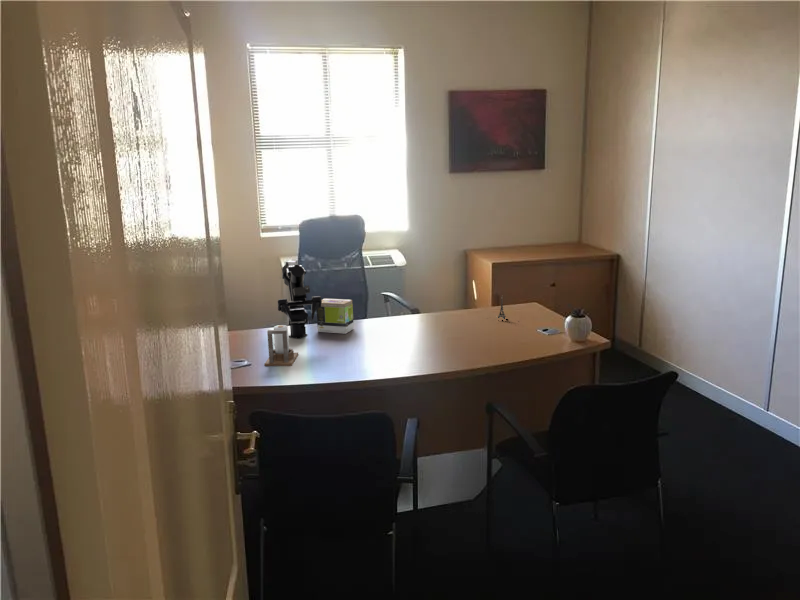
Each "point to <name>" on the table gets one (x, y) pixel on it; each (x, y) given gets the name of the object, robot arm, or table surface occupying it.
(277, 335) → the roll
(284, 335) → the stand
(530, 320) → the table surface
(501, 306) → the eiffel tower figurine
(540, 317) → the table surface
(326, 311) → the tea box
